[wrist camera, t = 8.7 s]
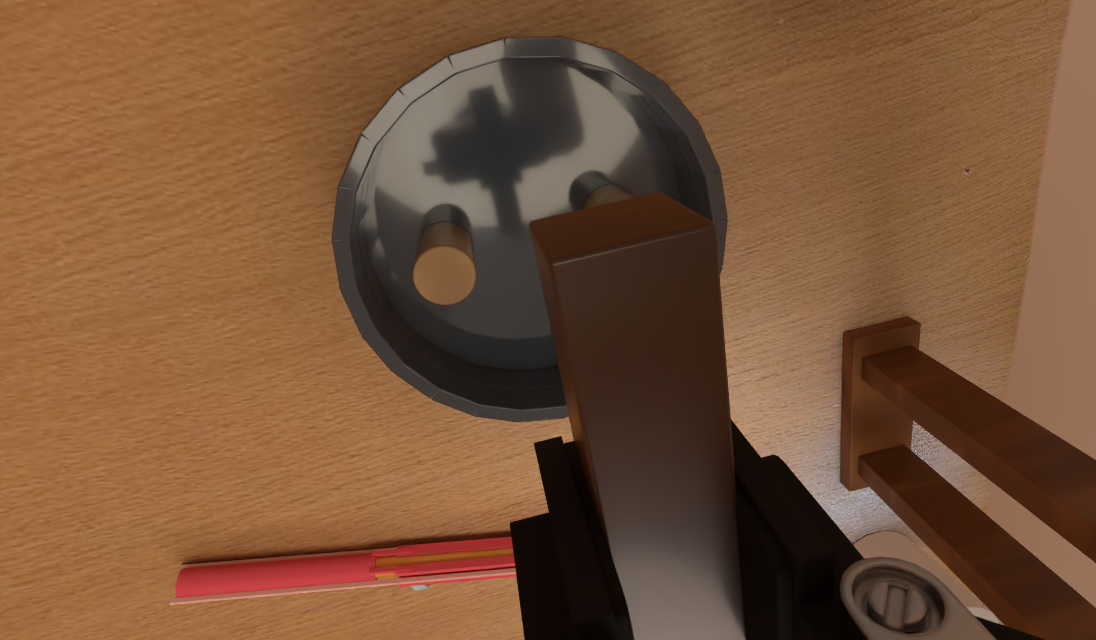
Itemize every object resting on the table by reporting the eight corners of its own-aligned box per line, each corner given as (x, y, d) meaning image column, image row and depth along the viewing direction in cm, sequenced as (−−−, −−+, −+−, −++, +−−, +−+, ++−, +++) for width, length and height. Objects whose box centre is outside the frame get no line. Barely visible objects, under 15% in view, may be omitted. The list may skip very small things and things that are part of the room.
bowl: (590, -40, 25) (617, -60, 21) (738, 271, 32) (781, 302, 28) (272, 173, 26) (239, 193, 22) (478, 427, 33) (482, 478, 29)
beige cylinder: (889, 507, 40) (971, 591, 34) (936, 553, 43) (1020, 640, 37) (810, 570, 42) (874, 661, 35) (860, 611, 44) (928, 704, 38)
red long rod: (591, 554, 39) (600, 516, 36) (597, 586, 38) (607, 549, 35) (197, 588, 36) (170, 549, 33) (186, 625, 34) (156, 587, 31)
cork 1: (453, 210, 28) (453, 233, 24) (484, 255, 29) (488, 284, 25) (406, 240, 28) (399, 267, 24) (439, 284, 29) (436, 316, 25)
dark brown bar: (527, 220, 9) (548, 261, 7) (661, 190, 9) (718, 222, 7) (629, 706, 13) (658, 811, 11) (717, 682, 13) (760, 781, 11)
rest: (843, 332, 34) (1131, 533, 20) (908, 316, 34) (1242, 503, 20) (840, 482, 39) (1072, 734, 24) (898, 467, 39) (1162, 708, 24)
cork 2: (620, 173, 28) (645, 190, 24) (644, 219, 29) (672, 242, 26) (573, 203, 28) (590, 224, 25) (599, 247, 29) (619, 274, 26)
